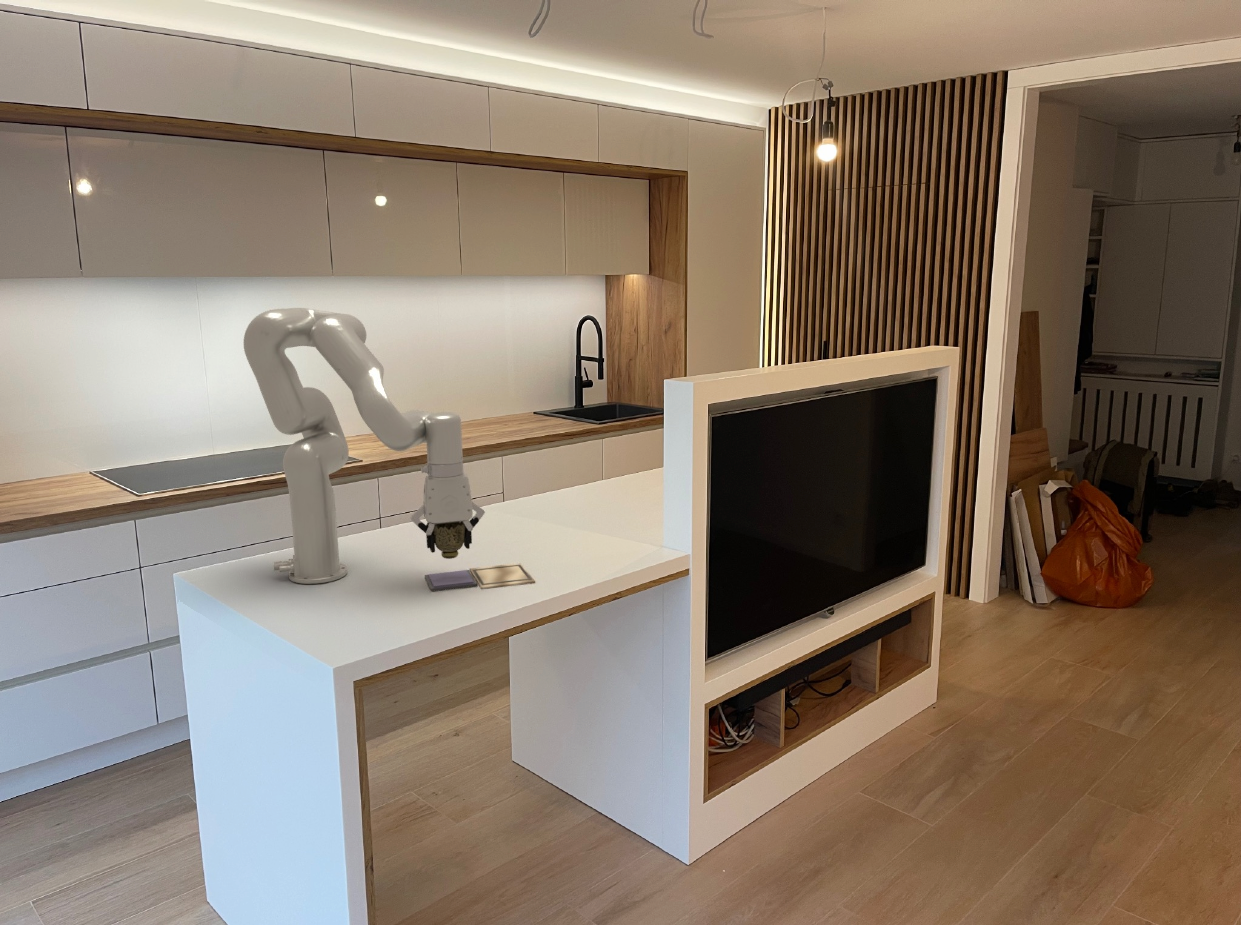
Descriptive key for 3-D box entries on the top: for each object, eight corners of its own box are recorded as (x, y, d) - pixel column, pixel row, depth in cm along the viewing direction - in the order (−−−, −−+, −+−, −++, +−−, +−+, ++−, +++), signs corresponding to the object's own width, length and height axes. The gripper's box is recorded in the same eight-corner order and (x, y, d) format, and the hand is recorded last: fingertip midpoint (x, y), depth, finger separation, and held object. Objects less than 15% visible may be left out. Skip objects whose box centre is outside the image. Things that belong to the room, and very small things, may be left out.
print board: (481, 589, 202) (481, 586, 202) (469, 570, 215) (469, 568, 214) (535, 582, 206) (535, 580, 205) (520, 564, 218) (520, 562, 218)
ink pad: (431, 591, 200) (431, 587, 200) (424, 577, 209) (424, 573, 209) (477, 586, 203) (477, 582, 203) (468, 572, 213) (468, 568, 212)
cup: (459, 563, 201) (458, 527, 199) (427, 561, 202) (425, 525, 201) (471, 553, 208) (470, 518, 206) (440, 551, 209) (439, 517, 208)
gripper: (407, 476, 195) (411, 558, 198) (488, 469, 201) (492, 549, 204) (402, 469, 202) (407, 548, 205) (482, 463, 208) (485, 540, 211)
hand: (449, 548), depth 205 cm, fingers closed on cup, 7 cm apart
